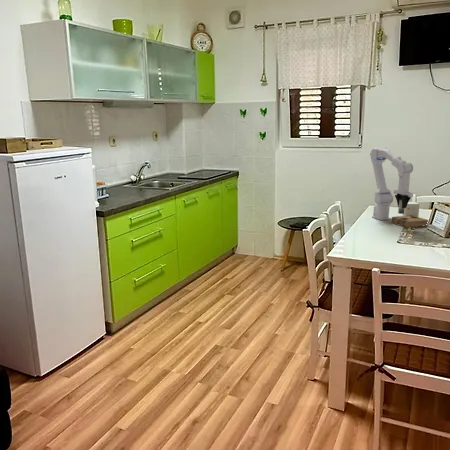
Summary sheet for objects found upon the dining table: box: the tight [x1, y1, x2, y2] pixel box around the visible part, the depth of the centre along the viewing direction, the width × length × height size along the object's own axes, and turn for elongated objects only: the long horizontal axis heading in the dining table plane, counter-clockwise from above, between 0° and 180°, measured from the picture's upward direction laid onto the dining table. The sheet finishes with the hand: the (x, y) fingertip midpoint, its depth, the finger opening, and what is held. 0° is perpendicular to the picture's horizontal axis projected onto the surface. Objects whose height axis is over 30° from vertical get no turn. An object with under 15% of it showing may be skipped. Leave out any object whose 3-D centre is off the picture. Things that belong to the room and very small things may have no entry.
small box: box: [402, 201, 420, 217], centre depth 266 cm, size 8×6×10 cm
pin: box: [397, 199, 404, 215], centre depth 252 cm, size 3×3×8 cm
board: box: [390, 215, 429, 229], centre depth 255 cm, size 14×14×4 cm
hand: (401, 207), depth 252 cm, fingers closed on pin, 3 cm apart
